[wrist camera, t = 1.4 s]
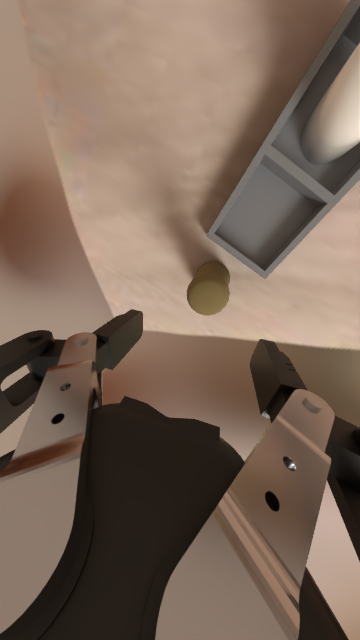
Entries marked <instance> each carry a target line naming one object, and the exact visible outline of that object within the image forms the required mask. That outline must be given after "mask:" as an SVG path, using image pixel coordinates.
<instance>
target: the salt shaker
mask: <svg viewBox="0 0 360 640" xmlns="http://www.w3.org/2000/svg"><path fill="white" fill-rule="evenodd" d="M359 142H360V43H359V44H358V46H357V47H356V49H355V50H354V52H353V53H352V55H351V56H350V57H349V59H348V60H347V62H346V63H345V65H344V66H343V68H342V69H341V71H340V72H339V74H338V75H337V77H336V78H335V80H334V81H333V83H332V84H331V86H330V87H329V88H328V90H327V91H326V93H325V94H324V96H323V97H322V99H321V100H320V102H319V103H318V105H317V106H316V108H315V109H314V111H313V112H312V114H311V115H310V117H309V118H308V120H307V122H306V124H305V127H304V129H303V133H302V137H301V150H302V154H303V156H304V158H305V159H306V160H307V161H308V162H310V163H312V164H315V165H323V164H327V163H330V162H332V161H334V160H336V159H338V158H339V157H341V156H342V155H343V154H345V153H346V152H347V151H349V150H350V149H351V148H353V147H354V146H355V145H357V144H358V143H359Z"/></svg>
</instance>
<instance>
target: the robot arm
mask: <svg viewBox="0 0 360 640" xmlns="http://www.w3.org/2000/svg"><path fill="white" fill-rule="evenodd" d="M142 332H143V313H142V312H141V311H137V310H133V309H131V310H130V311H128V312H127V313H125V314H122V315H119V316H116V317H115V318H113V319H112V320H111V321H109V322H107V324H104V325H103V326H102V327H100V328H99V329H97V330H96V331H94V332H93V333H87V332H86V333H78V334H75V335H72V336H71V337H69V338H68V339H67V340H55V339H54V338H53V335H52V333H51V332H50V331H46V330H38V331H33V332H29V333H26V334H24V335H21V336H19V337H17V338H16V339H13V340H12V341H9V342H7V343H5V344H3V345H1V346H0V385H1V383H2V381H3V380H4V379H5V378H6V377H7V376H9V375H10V374H12V373H13V372H15V371H17V370H18V369H19V368H21V367H22V366H24V365H27V367H28V369H29V371H30V373H28V374H27V375H25V376H24V377H23V378H21V379H20V380H18V381H17V382H16V383H14V384H13V385H11V386H10V387H9V388H7V389H6V390H4V391H3V392H2V390H1V389H0V433H1V432H2V431H4V430H5V429H6V428H7V427H8V426H9V425H10V424H11V423H13V422H14V421H15V420H16V419H17V418H18V417H19V416H20V415H21V414H22V413H24V412H25V411H26V410H27V409H28V408H29V407H30V406H31V405H32V404H34V405H33V408H32V410H31V412H30V415H29V417H28V420H27V423H26V425H25V427H24V430H23V433H22V435H21V437H20V440H19V442H18V445H17V447H16V449H15V450H13V451H11V452H9V453H7V454H6V455H4V456H2V457H0V640H348V638H347V636H346V634H345V633H344V631H343V629H342V627H341V626H340V624H339V622H338V621H337V619H336V617H335V615H334V614H333V612H332V610H331V609H330V607H329V605H328V603H327V602H326V600H325V599H324V597H323V595H322V593H321V591H320V590H319V588H318V586H317V585H316V583H315V581H314V579H313V578H312V576H311V574H310V573H309V571H308V569H307V567H306V563H307V559H308V555H309V551H310V546H311V542H312V538H313V534H314V530H315V526H316V521H317V518H318V514H319V510H320V505H321V501H322V497H323V493H324V489H325V485H326V481H328V483H329V486H330V488H331V491H332V493H333V496H334V498H335V501H336V503H337V506H338V508H339V510H340V513H341V516H342V518H343V521H344V523H345V526H346V528H347V531H348V533H349V536H350V538H351V541H352V543H353V546H354V548H355V551H356V554H357V556H358V558H359V561H360V425H359V426H358V427H357V426H355V425H353V424H351V423H349V422H347V421H345V420H343V419H341V418H339V417H337V416H335V415H334V413H333V411H332V409H331V408H330V407H329V405H328V404H327V403H326V402H325V401H324V400H322V399H321V398H320V397H318V396H317V395H315V394H313V393H311V392H309V391H308V390H307V388H306V387H305V385H304V383H303V381H302V380H301V378H300V376H299V375H298V373H297V372H296V369H295V368H294V366H293V364H292V363H291V361H290V359H289V358H288V357H287V356H286V355H285V354H284V353H283V352H280V351H279V349H278V348H277V346H276V344H275V342H272V341H268V340H264V339H260V340H259V342H258V344H257V346H256V348H255V350H254V353H253V355H252V357H251V361H250V369H251V374H252V378H253V382H254V387H255V391H256V396H257V400H258V405H259V409H260V414H261V416H264V417H267V418H270V420H271V424H270V425H269V427H268V428H267V430H266V431H265V433H264V434H263V436H262V437H261V438H260V440H259V442H258V443H257V444H256V446H255V447H254V449H253V450H252V452H251V453H250V454H249V456H248V457H247V459H246V460H245V462H244V460H243V459H242V458H241V456H240V455H239V454H238V453H237V452H236V450H235V449H234V448H233V447H232V446H231V445H229V444H228V443H227V442H226V441H225V440H224V439H222V438H220V428H219V427H217V426H214V425H211V424H208V423H205V422H202V421H199V420H195V419H184V418H169V417H166V416H165V415H163V414H162V413H160V412H159V411H157V410H156V409H154V408H153V407H151V406H150V405H148V404H147V403H144V402H141V401H138V400H135V399H132V398H129V397H126V396H124V398H123V399H122V401H121V403H115V404H107V405H102V377H103V374H102V370H103V369H104V368H108V369H111V370H113V369H114V368H115V367H116V365H117V364H118V363H119V362H120V361H121V359H123V357H124V356H125V355H126V354H127V353H128V352H129V351H130V349H131V348H132V347H133V346H134V345H135V344H136V343H137V341H138V340H139V339H140V338H141V336H142Z"/></svg>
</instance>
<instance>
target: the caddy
mask: <svg viewBox="0 0 360 640" xmlns="http://www.w3.org/2000/svg"><path fill="white" fill-rule="evenodd" d="M359 43H360V0H351V1H350V3H349V5H348V6H347V8H346V9H345V11H344V13H343V14H342V16H341V18H340V19H339V21H338V22H337V24H336V26H335V27H334V29H333V31H332V32H331V34H330V35H329V37H328V39H327V40H326V42H325V44H324V45H323V47H322V48H321V50H320V52H319V53H318V55H317V57H316V58H315V60H314V61H313V63H312V65H311V66H310V68H309V69H308V71H307V73H306V74H305V76H304V78H303V79H302V81H301V82H300V84H299V86H298V87H297V89H296V91H295V92H294V94H293V95H292V97H291V99H290V100H289V102H288V104H287V105H286V107H285V108H284V110H283V112H282V113H281V115H280V117H279V118H278V120H277V121H276V123H275V125H274V126H273V128H272V130H271V131H270V133H269V134H268V136H267V138H266V139H265V141H264V142H263V144H262V146H261V147H260V149H259V151H258V152H257V154H256V155H255V157H254V159H253V160H252V162H251V164H250V165H249V167H248V168H247V170H246V172H245V173H244V175H243V177H242V178H241V180H240V181H239V183H238V185H237V186H236V188H235V190H234V191H233V193H232V194H231V196H230V198H229V199H228V201H227V202H226V204H225V206H224V207H223V209H222V211H221V212H220V214H219V215H218V217H217V219H216V220H215V222H214V224H213V225H212V227H211V228H210V230H209V232H208V233H207V235H206V236H207V237H208V238H210V239H211V240H213V241H214V242H215V243H217V244H218V245H219V246H221V247H222V248H223V249H225V250H226V251H228V252H229V253H230V254H232V255H233V256H234V257H236V258H237V259H238V260H240V261H241V262H243V263H244V264H245V265H247V266H248V267H249V268H251V269H252V270H253V271H255V272H256V273H257V274H259V275H260V276H262V277H263V278H264V279H266V278H267V276H268V275H269V274H270V273H271V272H272V271H273V270H274V269H275V268H276V267H277V266H278V265H279V264H280V263H281V262H282V261H283V260H284V259H285V258H286V256H287V255H288V254H289V253H290V252H291V251H292V250H293V249H294V248H295V247H296V246H297V245H298V244H299V243H300V242H301V241H302V240H303V239H304V238H305V236H306V235H307V234H308V233H309V232H310V231H311V230H312V229H313V228H314V227H315V226H316V225H317V224H318V223H319V222H320V221H321V220H322V219H323V217H324V216H325V215H326V214H327V213H328V212H329V211H330V210H331V209H332V208H333V207H334V206H335V205H336V204H337V203H338V202H339V201H340V200H341V199H342V197H343V196H344V195H345V194H346V193H347V192H348V191H349V190H350V189H351V188H352V187H353V186H354V185H355V184H356V183H357V182H358V181H359V180H360V142H359V143H358V144H357V145H355V146H354V147H353V148H351V149H350V150H349V151H347V152H346V153H345V154H343V155H342V156H341V157H339V158H338V159H336V160H334V161H332V162H330V163H327V164H323V165H315V164H312V163H310V162H308V161H307V160H306V159H305V158H304V156H303V154H302V150H301V137H302V133H303V129H304V127H305V124H306V122H307V120H308V118H309V117H310V115H311V114H312V112H313V111H314V109H315V108H316V106H317V105H318V103H319V102H320V100H321V99H322V97H323V96H324V94H325V93H326V91H327V90H328V88H329V87H330V86H331V84H332V83H333V81H334V80H335V78H336V77H337V75H338V74H339V72H340V71H341V69H342V68H343V66H344V65H345V63H346V62H347V60H348V59H349V57H350V56H351V55H352V53H353V52H354V50H355V49H356V47H357V46H358V44H359Z"/></svg>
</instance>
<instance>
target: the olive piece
mask: <svg viewBox="0 0 360 640" xmlns="http://www.w3.org/2000/svg"><path fill="white" fill-rule="evenodd" d="M229 282H230V275H229V271H228V270H227V268H226V267H225V266H224V265H223V264H221V263H219V262H208V263H205V264H204V265H202V266H201V267H200V268H199V270H198V271H197V273H196V276H195V278H194V279H193V280H192V281H191V283H190V284H189V286H188V289H187V300H188V303H189V305H190V306H191V308H192V309H193V310H194V311H196V312H197V313H199V314H202V315H213V314H216V313H218V312H220V311H221V310H222V309H223V308H224V307H225V306H226V304H227V302H228V300H229V294H230V293H229V288H228V285H229Z"/></svg>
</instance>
